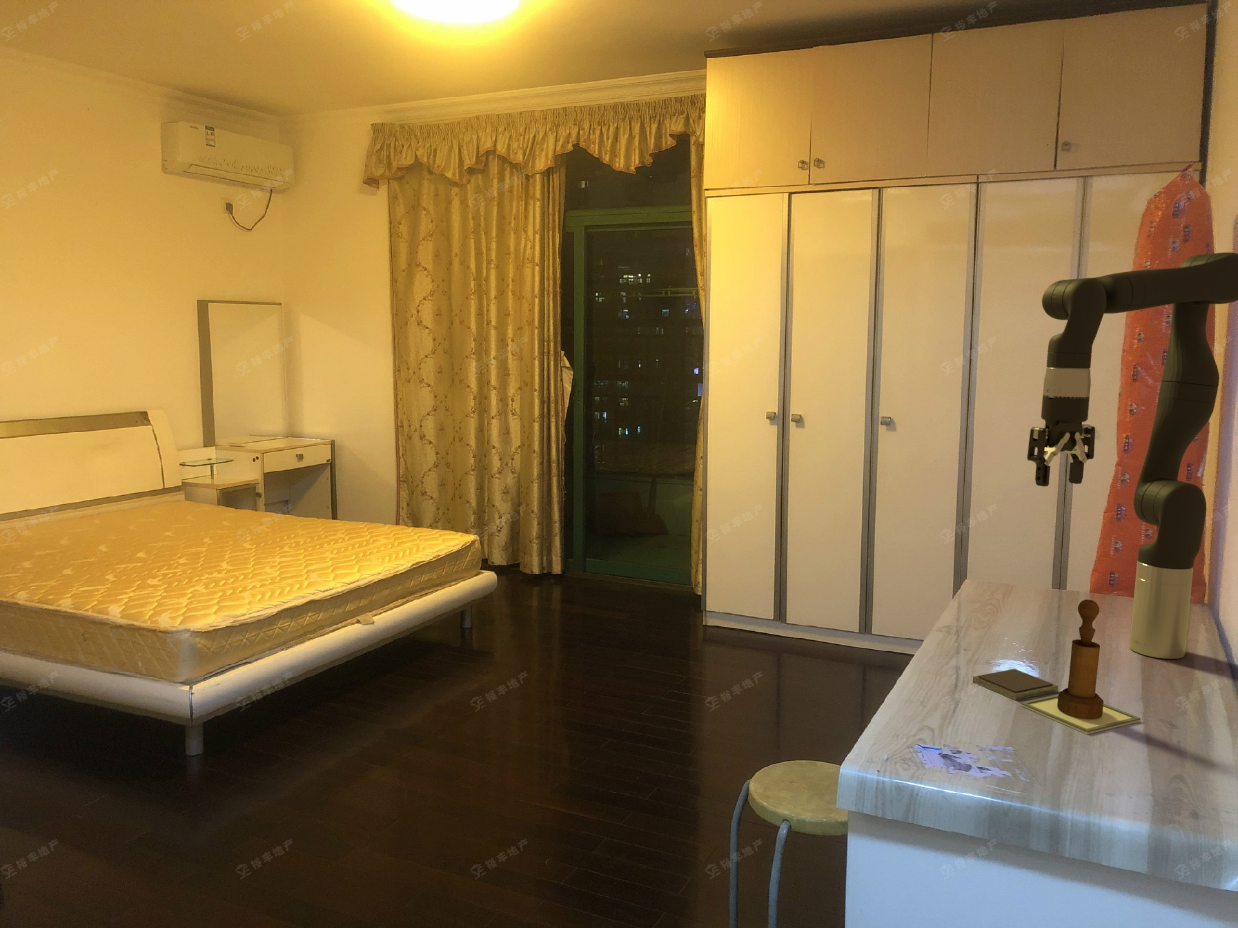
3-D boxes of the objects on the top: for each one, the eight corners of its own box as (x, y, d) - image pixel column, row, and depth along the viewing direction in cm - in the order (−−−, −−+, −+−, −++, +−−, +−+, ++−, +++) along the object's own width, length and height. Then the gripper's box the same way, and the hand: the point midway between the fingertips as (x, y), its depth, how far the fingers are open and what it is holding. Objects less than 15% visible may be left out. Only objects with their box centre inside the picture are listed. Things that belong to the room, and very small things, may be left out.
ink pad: (1014, 673, 165) (1014, 667, 165) (1057, 691, 157) (1058, 684, 157) (972, 681, 161) (973, 675, 161) (1015, 700, 153) (1015, 693, 153)
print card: (1072, 694, 156) (1072, 691, 156) (1140, 721, 145) (1140, 717, 145) (1020, 705, 151) (1020, 702, 151) (1087, 734, 140) (1087, 730, 140)
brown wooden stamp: (1108, 721, 144) (1118, 607, 142) (1063, 717, 146) (1072, 604, 143) (1095, 705, 151) (1105, 596, 149) (1052, 701, 152) (1061, 593, 150)
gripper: (1075, 392, 172) (1067, 479, 174) (1020, 393, 165) (1013, 483, 168) (1112, 394, 165) (1104, 485, 167) (1056, 395, 159) (1048, 489, 161)
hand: (1058, 484), depth 167 cm, fingers open, 8 cm apart
